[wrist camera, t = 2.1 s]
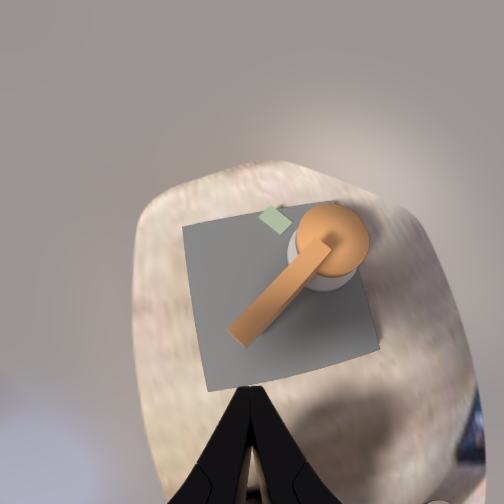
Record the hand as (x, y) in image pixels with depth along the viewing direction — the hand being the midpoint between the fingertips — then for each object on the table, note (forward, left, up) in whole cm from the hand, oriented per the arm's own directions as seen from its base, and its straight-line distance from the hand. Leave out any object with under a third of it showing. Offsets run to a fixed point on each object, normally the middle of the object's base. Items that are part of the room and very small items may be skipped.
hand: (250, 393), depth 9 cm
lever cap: (+5, +6, -10) cm, 12 cm away
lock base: (+3, +6, -13) cm, 15 cm away
